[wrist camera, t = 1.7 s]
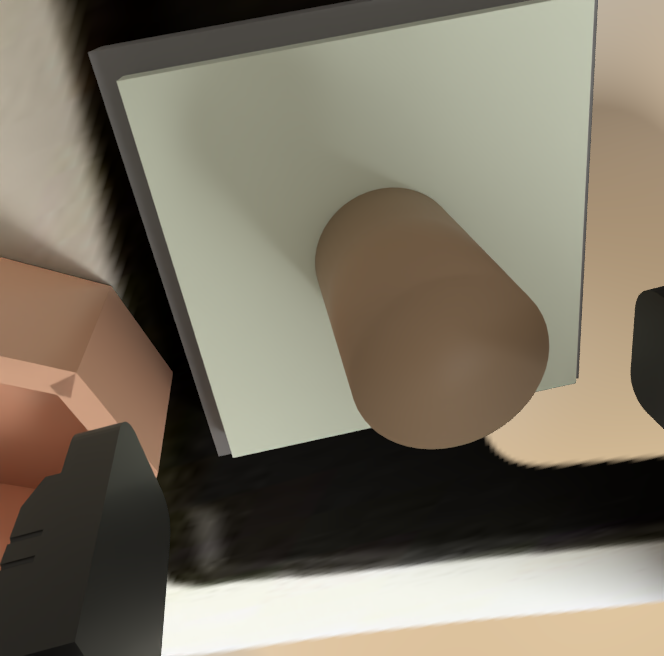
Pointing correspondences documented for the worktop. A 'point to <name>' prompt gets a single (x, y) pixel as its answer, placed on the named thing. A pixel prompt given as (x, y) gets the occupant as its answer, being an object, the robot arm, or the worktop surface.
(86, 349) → the pink hollow octagonal piece
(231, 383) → the lid
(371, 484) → the worktop surface
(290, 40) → the mat
